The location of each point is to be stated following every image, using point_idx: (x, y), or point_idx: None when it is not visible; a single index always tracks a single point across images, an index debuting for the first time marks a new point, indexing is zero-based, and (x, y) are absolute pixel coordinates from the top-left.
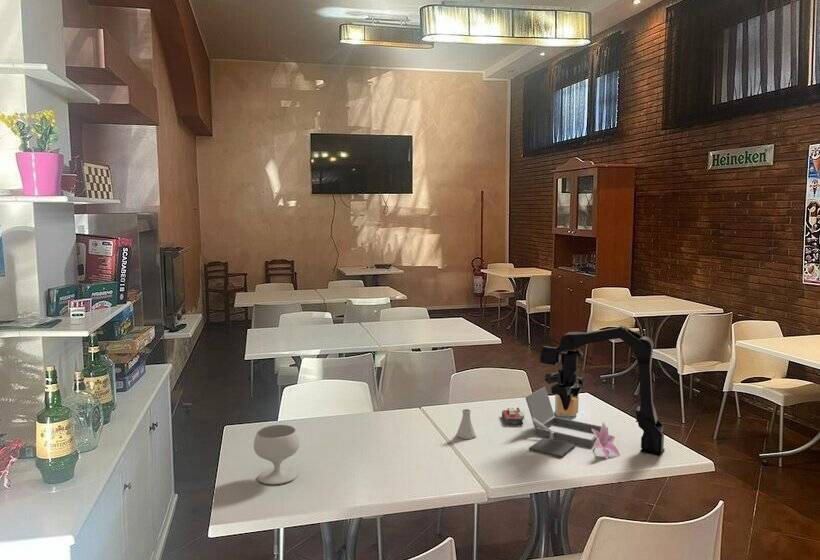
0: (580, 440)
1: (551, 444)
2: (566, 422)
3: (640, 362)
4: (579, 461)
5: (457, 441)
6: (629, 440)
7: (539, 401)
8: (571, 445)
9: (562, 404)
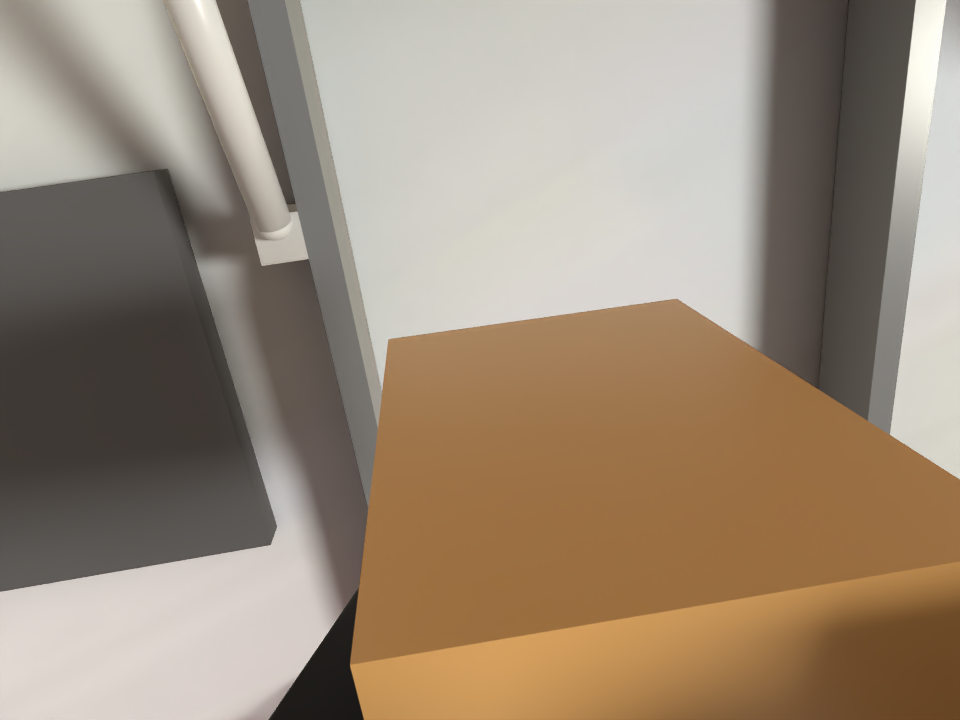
0: None
1: (52, 376)
2: (875, 103)
3: None
4: (27, 701)
5: None
6: None
7: None
8: (225, 530)
9: (316, 650)
